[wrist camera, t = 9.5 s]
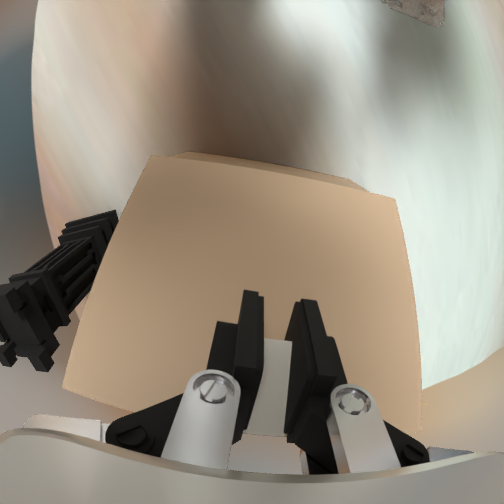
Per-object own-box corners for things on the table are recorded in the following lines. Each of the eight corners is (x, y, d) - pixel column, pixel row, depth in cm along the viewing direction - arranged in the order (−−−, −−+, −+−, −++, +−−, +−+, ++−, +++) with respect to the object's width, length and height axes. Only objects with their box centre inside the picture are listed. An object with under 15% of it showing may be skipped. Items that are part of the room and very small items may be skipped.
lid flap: (152, 161, 20) (145, 107, 16) (391, 204, 21) (419, 159, 17) (67, 389, 11) (16, 368, 8) (414, 432, 12) (474, 422, 8)
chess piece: (115, 209, 34) (5, 289, 16) (133, 268, 37) (53, 376, 19) (68, 222, 35) (-38, 296, 16) (86, 275, 38) (3, 368, 19)
